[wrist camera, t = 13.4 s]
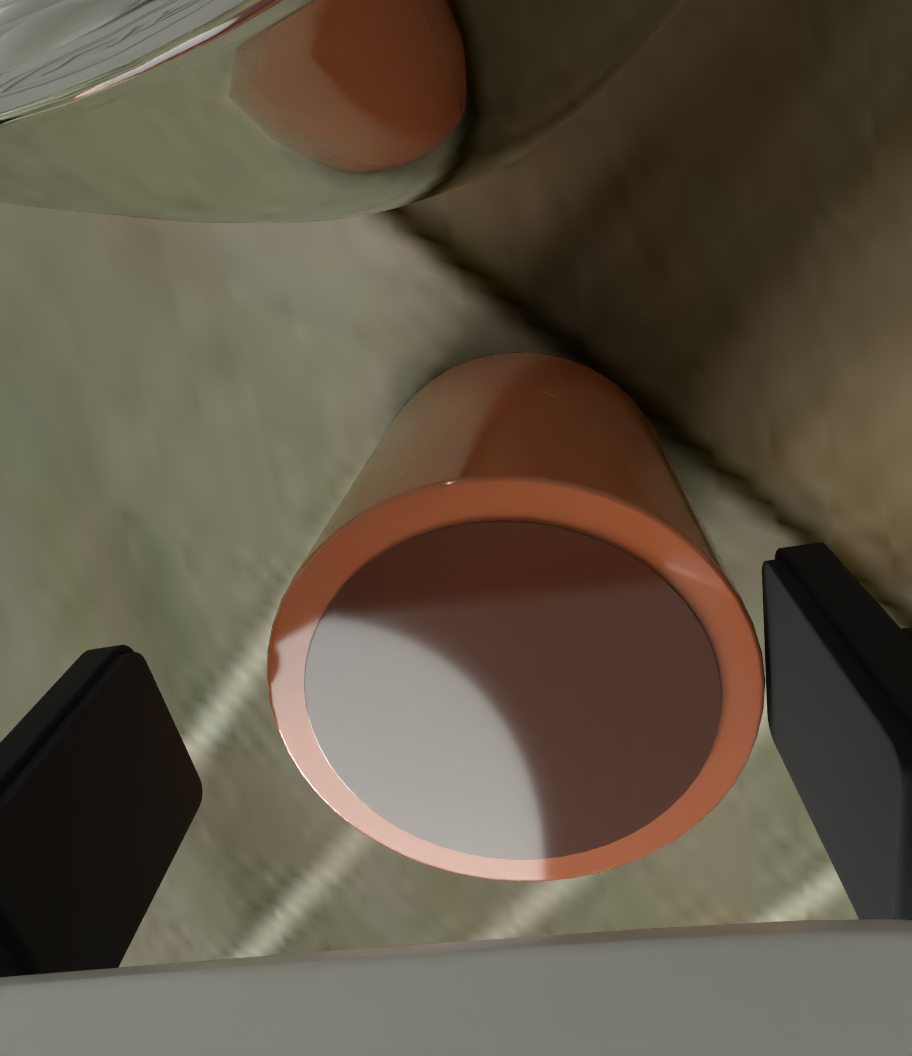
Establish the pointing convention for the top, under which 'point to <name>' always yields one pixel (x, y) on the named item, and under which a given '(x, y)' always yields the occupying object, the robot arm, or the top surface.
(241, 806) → the top surface
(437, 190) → the beer glass
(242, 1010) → the robot arm
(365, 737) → the terracotta cup
